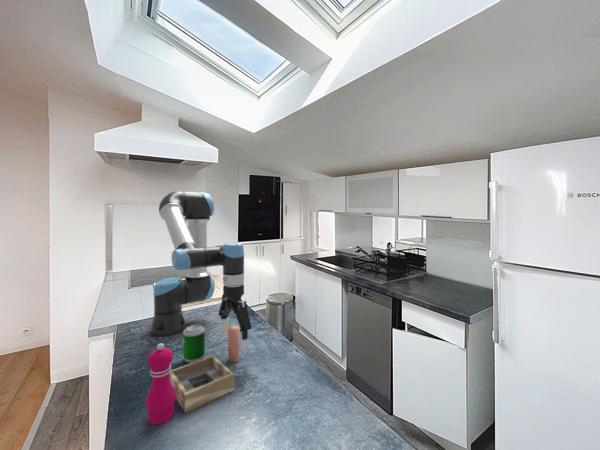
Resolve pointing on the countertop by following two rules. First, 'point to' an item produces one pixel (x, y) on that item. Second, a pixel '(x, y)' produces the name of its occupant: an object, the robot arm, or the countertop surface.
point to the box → (199, 372)
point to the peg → (233, 343)
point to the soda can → (193, 343)
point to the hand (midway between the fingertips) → (234, 341)
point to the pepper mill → (160, 386)
